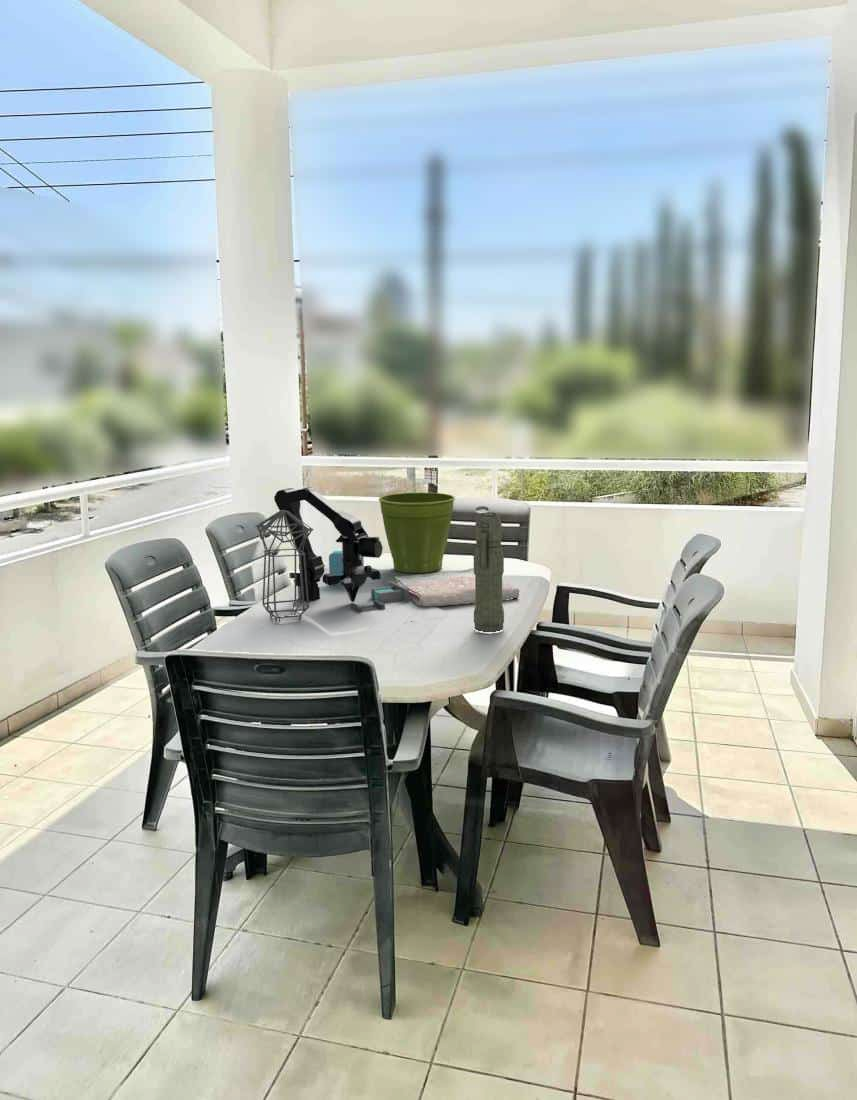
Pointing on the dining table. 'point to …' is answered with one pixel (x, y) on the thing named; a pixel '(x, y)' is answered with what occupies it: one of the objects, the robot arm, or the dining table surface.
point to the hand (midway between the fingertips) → (352, 601)
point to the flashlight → (488, 573)
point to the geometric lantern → (271, 520)
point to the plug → (380, 592)
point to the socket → (392, 593)
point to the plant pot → (417, 529)
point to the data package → (338, 563)
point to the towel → (447, 588)
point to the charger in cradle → (368, 607)
